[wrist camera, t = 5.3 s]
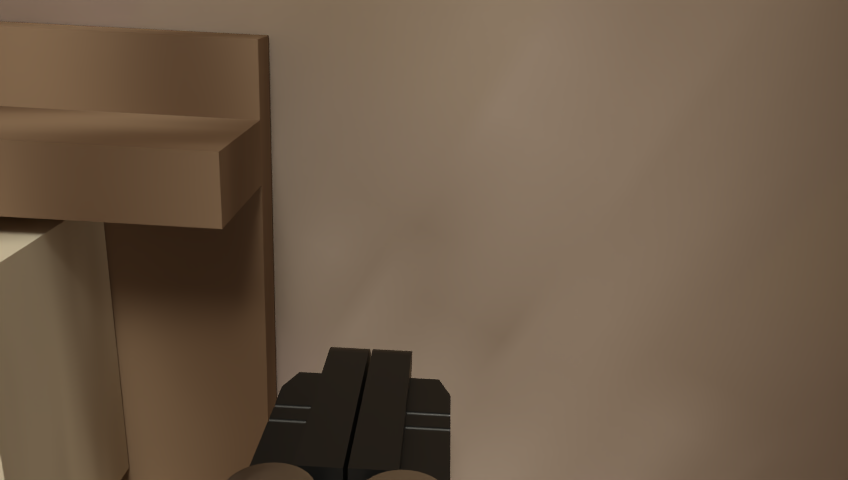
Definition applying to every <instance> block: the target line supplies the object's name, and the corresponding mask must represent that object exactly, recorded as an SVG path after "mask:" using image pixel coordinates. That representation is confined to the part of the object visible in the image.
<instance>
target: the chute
mask: <svg viewBox="0 0 848 480" xmlns="http://www.w3.org/2000/svg"><path fill="white" fill-rule="evenodd" d="M0 216H2V217H19V218H37V219H55V220H72V221H90V222H104V231H105V241H106V250H107V260H108V270H109V279H110V289H111V299H112V309H113V318H114V328H115V338H116V347H117V357H118V367H119V376H120V386H121V396H122V405H123V415H124V425H125V434H126V444H127V454H128V463H129V468H128V470H127V471H126V473H125V474H124V476H123V477H122V479H121V480H227V479H228V478H229V477H230V476H232V475H233V474H235V473H236V472H238V471H240V470H242V469H244V468H247V467H249V466H250V464H251V461H252V459H253V456H254V454H255V451H256V449H257V446H258V444H259V442H260V439H261V437H262V434H263V432H264V429H265V427H266V425H267V422H269V417H270V415H271V412H272V410H273V407H275V403H276V400H277V392H276V348H275V303H274V259H273V214H272V170H271V125H270V81H269V36H268V35H250V34H230V33H211V32H192V31H173V30H154V29H135V28H115V27H96V26H77V25H58V24H39V23H20V22H0Z"/></svg>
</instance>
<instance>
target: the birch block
mask: <svg viewBox="0 0 848 480" xmlns="http://www.w3.org/2000/svg"><path fill="white" fill-rule="evenodd" d="M128 468H129V463H128V454H127V444H126V434H125V425H124V415H123V405H122V396H121V386H120V376H119V367H118V357H117V347H116V338H115V328H114V318H113V309H112V299H111V289H110V279H109V270H108V260H107V250H106V241H105V231H104V222H90V221H72V220H55V219H37V218H19V217H2V216H0V480H121V479H122V477H123V476H124V474H125V473H126V471H127V470H128Z"/></svg>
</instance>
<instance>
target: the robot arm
mask: <svg viewBox="0 0 848 480" xmlns="http://www.w3.org/2000/svg"><path fill="white" fill-rule="evenodd" d="M411 371H412V351H395V350H377V349H373V351H372V355H371V352H370V349H356V348H338V347H331V348H330V350H329V353H328V356H327V359H326V362H325V365H324V368H323V371H322V373H305V372H299V373H298V374H297V375H296V376H294V377H293V378H292V379H291V380H290V381H288V382H287V383H286V384H285V385H283V386H282V388H281V390H280V393H279V395H278V398H277V400H276V403H275V407H273V410H272V412H271V415H270V417H269V422H267V425H266V427H265V429H264V432H263V434H262V437H261V439H260V442H259V444H258V446H257V449H256V451H255V454H254V456H253V459H252V461H251V464H250V466H249V467H247V468H244V469H242V470H240V471H238V472H236V473H235V474H233V475H232V476H230V477H229V478H228V479H227V480H450V394H449V393H448V392H447V390H446V389H445V387H444V386H443V385H442V383H441V382H440V380H436V379H417V378H411Z"/></svg>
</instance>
